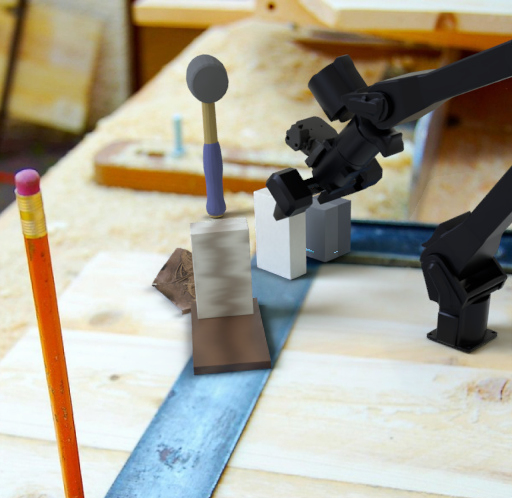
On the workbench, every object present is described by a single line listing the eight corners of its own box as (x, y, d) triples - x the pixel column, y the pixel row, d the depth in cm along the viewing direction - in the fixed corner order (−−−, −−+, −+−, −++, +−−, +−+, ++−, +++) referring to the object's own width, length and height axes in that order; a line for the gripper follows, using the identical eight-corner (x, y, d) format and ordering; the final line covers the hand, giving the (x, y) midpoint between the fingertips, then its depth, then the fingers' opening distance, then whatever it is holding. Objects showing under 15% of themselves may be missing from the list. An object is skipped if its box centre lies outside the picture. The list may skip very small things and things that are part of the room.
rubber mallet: (195, 208, 158) (182, 54, 143) (231, 204, 157) (222, 49, 143) (200, 229, 147) (186, 64, 132) (239, 224, 147) (229, 58, 132)
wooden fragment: (222, 311, 115) (221, 305, 115) (149, 317, 116) (148, 311, 116) (216, 247, 137) (215, 241, 137) (155, 252, 138) (154, 246, 138)
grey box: (350, 251, 129) (351, 200, 125) (325, 262, 126) (325, 210, 122) (322, 243, 134) (322, 193, 129) (297, 253, 131) (296, 202, 127)
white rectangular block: (306, 273, 123) (305, 195, 117) (290, 280, 122) (288, 201, 115) (272, 260, 129) (269, 185, 123) (257, 267, 128) (253, 191, 121)
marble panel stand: (257, 304, 116) (252, 214, 109) (271, 368, 99) (267, 266, 92) (191, 310, 116) (182, 221, 109) (194, 374, 100) (184, 274, 93)
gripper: (369, 87, 109) (314, 152, 123) (272, 115, 101) (224, 182, 114) (412, 150, 107) (350, 209, 121) (316, 184, 99) (262, 244, 112)
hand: (297, 209), depth 117 cm, fingers open, 9 cm apart
